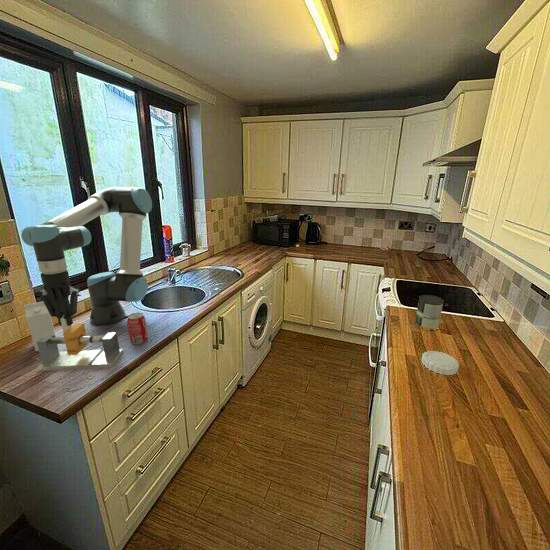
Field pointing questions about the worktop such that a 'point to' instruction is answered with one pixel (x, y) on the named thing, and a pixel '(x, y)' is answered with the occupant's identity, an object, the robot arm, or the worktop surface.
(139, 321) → the soda can
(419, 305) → the coffee can
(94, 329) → the worktop surface
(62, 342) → the pipe stand
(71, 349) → the orange tall block
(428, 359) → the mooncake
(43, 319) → the milk carton
